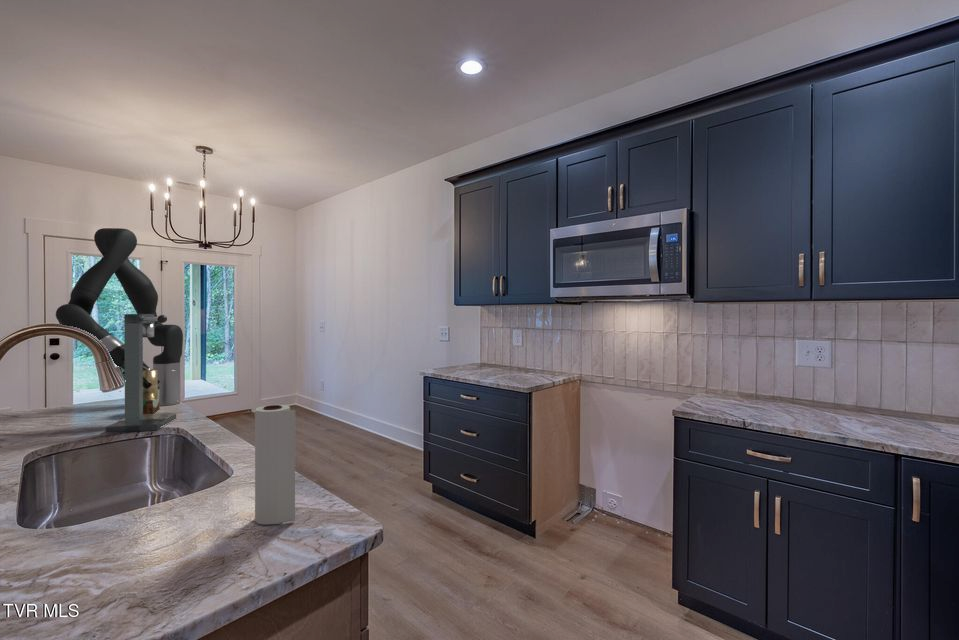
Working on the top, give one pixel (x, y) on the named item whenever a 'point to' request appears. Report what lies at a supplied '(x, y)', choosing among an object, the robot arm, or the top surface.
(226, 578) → the top surface
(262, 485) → the paper towel roll
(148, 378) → the cylinder
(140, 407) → the press
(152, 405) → the food container
